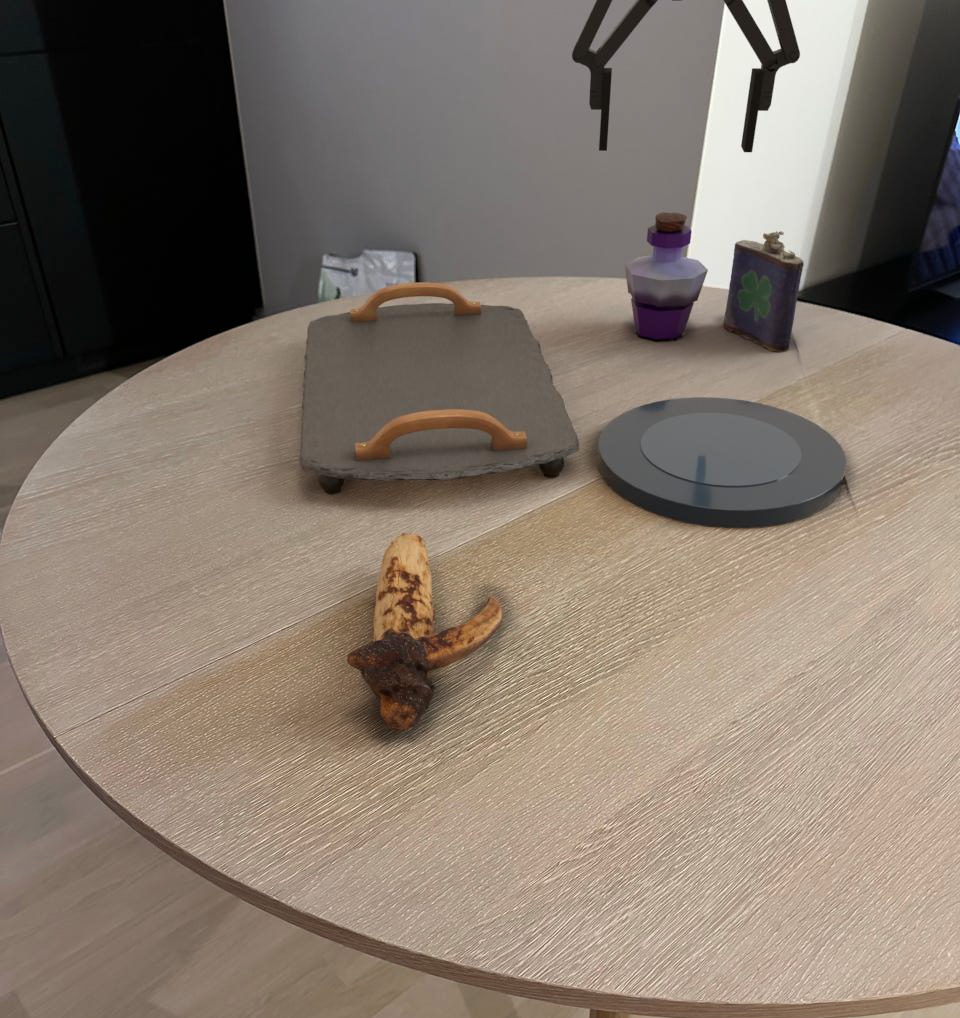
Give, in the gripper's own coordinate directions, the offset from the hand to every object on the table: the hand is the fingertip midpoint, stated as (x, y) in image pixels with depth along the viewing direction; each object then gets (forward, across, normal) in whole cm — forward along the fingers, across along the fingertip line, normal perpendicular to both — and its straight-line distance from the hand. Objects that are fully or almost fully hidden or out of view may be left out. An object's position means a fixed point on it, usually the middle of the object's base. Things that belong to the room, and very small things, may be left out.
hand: (674, 149), depth 92 cm
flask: (+18, +11, 0) cm, 21 cm away
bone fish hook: (+18, -16, -55) cm, 60 cm away
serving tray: (+18, -22, -19) cm, 34 cm away
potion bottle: (+18, 0, +1) cm, 18 cm away
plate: (+18, +4, -29) cm, 35 cm away
